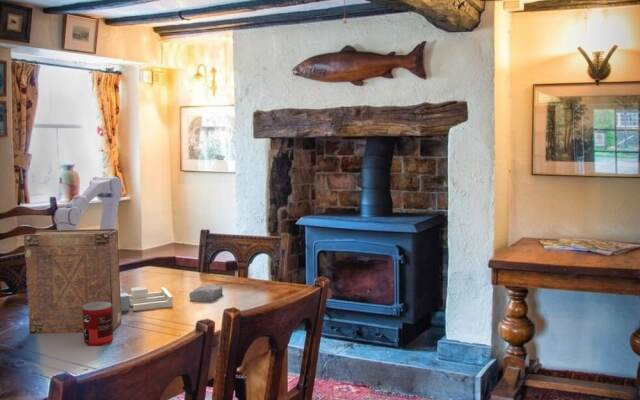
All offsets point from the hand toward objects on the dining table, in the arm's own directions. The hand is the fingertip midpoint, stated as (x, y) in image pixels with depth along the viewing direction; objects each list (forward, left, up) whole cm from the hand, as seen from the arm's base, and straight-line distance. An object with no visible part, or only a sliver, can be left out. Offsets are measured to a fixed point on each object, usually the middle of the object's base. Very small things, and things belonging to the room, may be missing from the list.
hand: (70, 282), depth 225 cm
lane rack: (+4, +25, -9) cm, 27 cm away
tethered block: (+7, +10, -9) cm, 16 cm away
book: (+24, 0, -10) cm, 26 cm away
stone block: (+4, +45, -10) cm, 47 cm away
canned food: (+42, +5, -10) cm, 43 cm away
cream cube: (0, +23, -10) cm, 24 cm away
